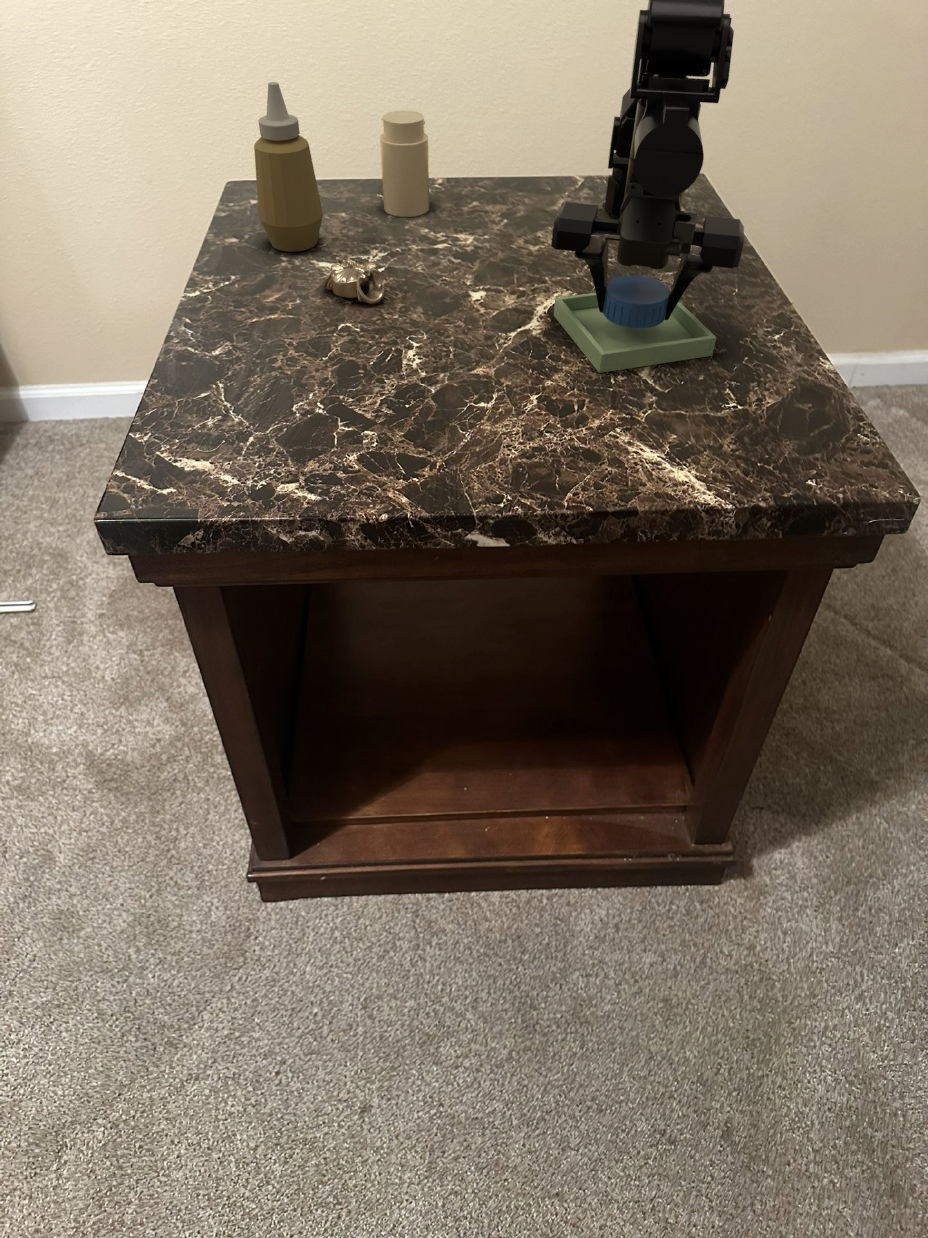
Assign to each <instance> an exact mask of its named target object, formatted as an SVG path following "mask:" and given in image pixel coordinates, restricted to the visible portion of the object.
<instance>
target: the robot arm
mask: <svg viewBox="0 0 928 1238" xmlns="http://www.w3.org/2000/svg"><path fill="white" fill-rule="evenodd" d="M638 12H639V14H638V19H637V27H636V34H635V40H634V49H633V58H632V69H631V78H630V86H629V89H628V90H627V91H626V92H625V93H624V94H623V96H622V98H621V105H620V112H619V116H614V118H613V123H612V130H611V137H610V142H609V143H610V144H609V152H608V161H607V162H608V163H607V169H608V170H611V175H609V176H608V179H607V186H606V193H605V201H604V202H602V208H603V209H604V210H605V211H607V212H608V213H609V214H610V215H611V216H612V217H613V218H606V217H598V214H599V205H598V204H589V203H581V202H580V203H578V202H571V201H570V202H569V201H565V202H564V203H563V204H562V205H561V206H560V207H559V210H558V211H557V214H556V216H555V219H554V222H553V227H552V233H551V235H552V236H551V248H553V249H555V250H558V251H567V252H574V257H575V258H576V259H577V260H583V261H584V262H585V264H586V265H587V267H588V270H589V272H590V275H591V278H592V283H593V287H594V291H595V293H596V296H597V301H598V306H599V311H600V312H601V313H603V311H602V310H603V308H604V302H605V292H606V286H607V284H608V270H609V269H608V268H609V241H617V242H618V247H617V257H616V260H617V263H618V264H620V265H621V266H624V267H632V266H637V267H647V268H650V269H651V270H661V269H664V268H665V267H666V266H667V265H668V262H669V256H671V257H680V256H681V257H680V259H679V264H678V266H677V270H676V273H675V276H674V279H673V282H672V285H671V289H670V297H669V302H668V305H667V310H666V316H665V317H666V318H665V320H668V319H669V317H670V316H671V314H672V312H673V310H674V309H675V307H676V305H677V304H678V302H680V300H681V298H682V297H683V295H684V293H685V292H686V290H687V288H689V286H690V285H691V283H692V282H693V281H694V280H695V278H696V277H698V276H699V275H700V274H703V273H705V274H707V273H711V272H712V271H713V267H716V268H725V269H726V268H727V269H735V268H738V267H739V265H740V260H741V257H742V253H743V249H744V243H745V226H744V224H743V222H742V221H741V219H740V218H731V217H719V216H712V215H711V216H710V215H705V216H704V217H705V218H704V221H703V225H702V227H696V226H697V220H698V213H695V212H685V210H682V208H683V207H682V206H683V201H684V197H685V191H687V190H688V189H689V188H690V187H691V186H693V184H695V182H696V181H697V179H698V177H699V175H700V173H701V171H702V168H703V165H704V159H705V157H704V146H703V140H702V134H701V128H700V122H699V118H700V113H701V108H702V104H703V103H705V104H719V101H720V97H721V90H726V89H727V86H728V82H729V80H730V79H729V78H730V71H731V62H732V61H731V60H732V51H733V44H734V35H735V30H734V29H733V27H732V26H731V25H732V20H733V19H732V17H731V13H725V0H648V3H647V9H639V11H638ZM712 64H713V67H712ZM711 70H712V78H711V79H710V78H705V77H708V76H709V75H711ZM694 77H695V78H694ZM710 83H711V86H710ZM701 103H702V104H701Z"/></svg>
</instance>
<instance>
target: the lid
mask: <svg viewBox="0 0 928 1238" xmlns="http://www.w3.org/2000/svg"><path fill="white" fill-rule="evenodd" d="M670 291H671V289H670V287H669V286H668V285H666V284H665V283H664V282H662V281H660V280H658V279H656V278H652V277H648V276H644V275H623V276H618V277H615V278H613V279H611V280H609V282H607V286H606V292H605V302H604V308H603V310H602V311H603V314H604V316H605V317H606V318H607V319H608V320H609V321H611V322H612V323H614V324H617V325H620V326H623V327H628V328H650V327H654V326H657V325H659V324H661V323H662V322H663V321H664V320H665V318H666V317H665V316H666V310H667V305H668V302H669V297H670Z"/></svg>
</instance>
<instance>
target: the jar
mask: <svg viewBox="0 0 928 1238" xmlns="http://www.w3.org/2000/svg"><path fill="white" fill-rule="evenodd" d="M381 121H382V127H383V128H382V130H383V132H382V134H380V136H379V144H380V147H379V148H380V162H381V163H380V165H381V179H382V180H381V181H382V201H383V210H384V212H385V213H386V214H388V215H391V216H394V217H400V218H412V217H413V218H414V217H418V216H422V215H424V214H426V213H428V212H429V211H430V162H429V159H430V156H429V155H430V154H429V136H428V134H426V133H425V125H426V120H425V116H424V115H423V113H421V112H418V111H413V110H392V111H388V112H386V113H385V114H383V115H382V117H381Z"/></svg>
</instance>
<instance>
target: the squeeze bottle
mask: <svg viewBox="0 0 928 1238" xmlns="http://www.w3.org/2000/svg"><path fill="white" fill-rule="evenodd" d="M266 99H267V101H266V115H263V116H260V117H259V119H258V120H257V121H258V128H259V129H258V130H259V134H260V137H259V138H258V139H257V140H256V142H255V143H254V144H253V149H254V166H255V178H256V196H257V211H258V219H259V221H260V224H261V226H262V228H263V230H264V233H266V236H267V238H268V240H269V241H270V244H271V246H272V247H273V248H274V249H277V250H279V251H282V252H290V253H293V252H302V251H306V250H310V249H312V248H313V247H315V246H316V245H317V243H318V241H319V237H320V236H319V235H320V231H321V226H322V221H323V216H324V212H323V208H322V203H321V199H320V193H319V188H318V183H317V178H316V173H315V168H314V164H313V158H312V153H311V149H310V144H309V141H308V140H307V139H306V138H305V137H303V136H301V135H300V134H301V131H300V123H299V119H298V117H297V116H295V115H293V114H289V112H288V109H287V106H286V103H285V100H284V97H283V93H282V90H281V87H280V83H279V82H276V81H271V82H268V83H267V98H266Z"/></svg>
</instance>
